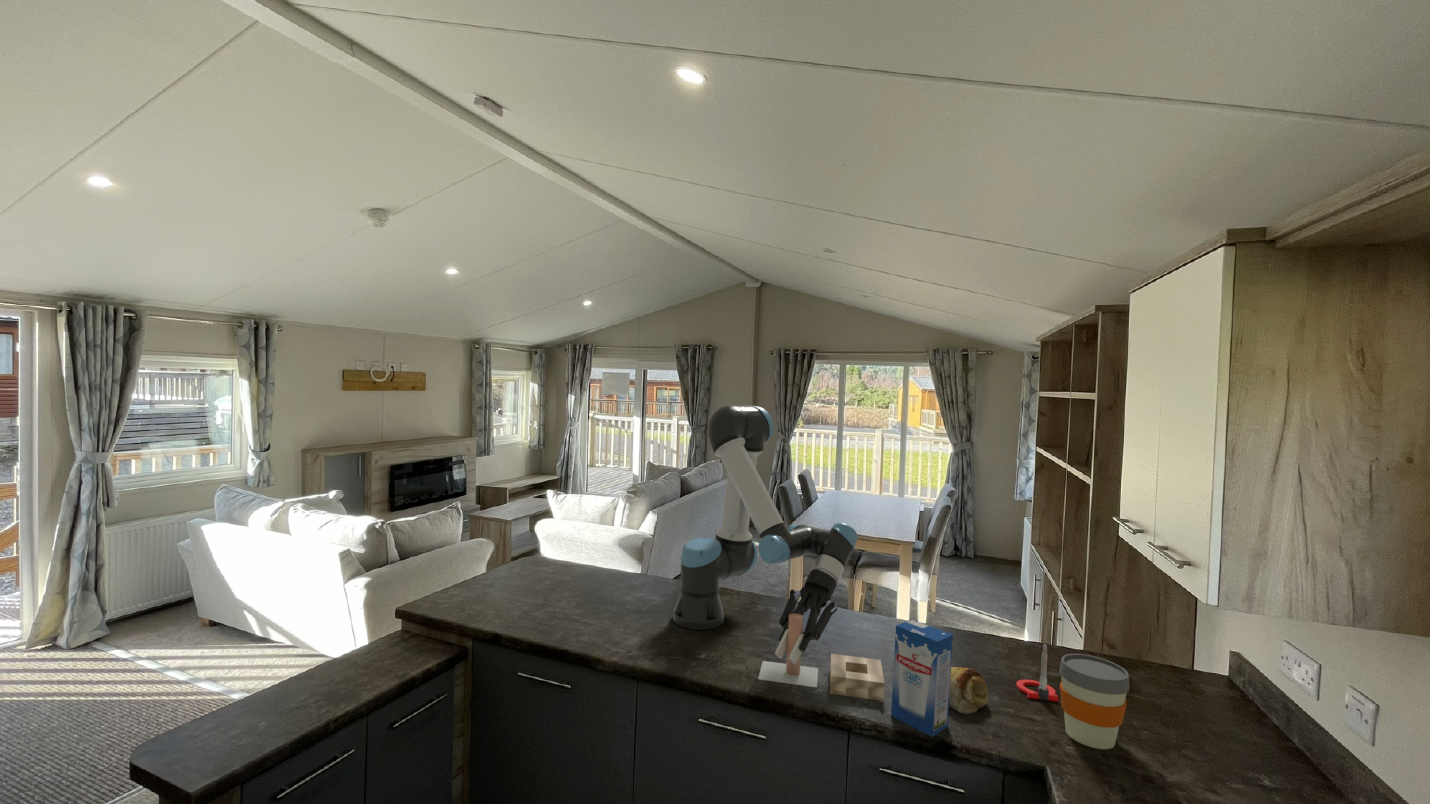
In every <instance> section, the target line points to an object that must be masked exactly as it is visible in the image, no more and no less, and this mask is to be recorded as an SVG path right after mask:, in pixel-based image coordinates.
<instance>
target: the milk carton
mask: <svg viewBox="0 0 1430 804" xmlns="http://www.w3.org/2000/svg"><path fill="white" fill-rule="evenodd" d="M953 639H954V634H952V633H950V632H947V631H944V630H942V629H939V628H937V627H933V626H930V625H927V624H926V623H923V622H920V621H917V620H915V619H909V620H907V621H904V622H902V623H899V624H896V625H895V638H894V654H893V655H894V657H893V672H892V673H893V675H892V690H891V691H892V692H891V695H892V696H891V707H890V708H891V711H890V712H891V713H890V716H891V717H892V718H895V719H896V720H898V721H900V722H902V723H904V724H906V725H907V726H910V727H912V728H914V729H916V730H917V731H920V732H922V733H923V734H925V735H927V736H929V737H931V738H933V737H935V736H936V735H937V734H939V733H942V732H943V731H944V730H945V729H947V728H949V715H950V712H949V711H950V709H949V708H950V707H949V696H950V679H951V667H952V660H953V659H952V658H953V657H952V656H953V643H954V642H953V641H954V640H953Z"/></svg>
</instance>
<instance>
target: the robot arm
mask: <svg viewBox="0 0 1430 804" xmlns="http://www.w3.org/2000/svg"><path fill="white" fill-rule="evenodd" d="M773 433H774V421H773V418H772V417H771V415H770V414H769V412H768V411H767V410H766V409H765V408H763V407H762V406H756V405H754V404H753V405H750V404H748V405H730V404H729V405H724V406H720V407H719V408H717V409H716V410H715V411H714V412H713V413H712V414H711V416H710V418H709V419H708V423H707V437H708V442H709V445H710V447H711V450H712V451H713V454H714V456H715V457H717V458H720V459H721V462H722V463H723V465H724V468H725V469H726V472H727V477H726V486H725V492H724V493H725V495H724V500H723V503H724V504H723V510H722V511H723V512H722V516H721V517H722V518H721V527H718V529H717V530H716V531H715V537H714V538H712V537H711V538H709V537H703V538H699V537H698V538H695V539H692V540H689V541H687V542H686V543H685V544H684V545H683V547H682V549H681V557H680V581H679V582H680V586H679V587H680V588H679V589H680V590H679V595H678V598H677V600H676V603H675V607H674V608H673V612H672V613H673V614H672V615H673V616H672V620H673V622H674V624H675V625H677V626H679V627H682V628H684V629H689V630H695V631H696V630H697V631H698V630H700V631H702V630H705V631H706V630H712V629H716V628H718V627H720V626H721V625H723V624H724V618H725V615H724V614H725V613H724V608H723V606H722V602H721V599H720V582H721V581H724V580H728V579H731V578H734V577H740V576H742V575H743V576H744V574H746V573H749V572H750V571H752V569H753V568H755V565H756V563H757V560H758V555H759V556H760V558H761V559H762V560H763V561H764V562H765V563H767V564H769V565H774V564H781V563H786V562H787V561H790V560H793V559H796V558H800V557H803V556H807V555H813V556H816V557H817V558H816V559H815V561H814V564H813V566H812V567H811V569H810V572H809V574H808V575H807V576H806V577H807V578H806V580H805V583H804V586H803V587H802V588H801V589H800V590H795V589H790V591H789V597H788V599H787V603H786V605H785V607H784V608H783V611H782V614H781V617H780V618H779V621H778V623H779V625H780V627H782V631H781V633H780V636H779V637H778V641H779V643H778V645H777V647H776V650H775V652H774V653H775V656H777V657H778V658H777V659H780V660H782V659H783V657H784V655H785V653H786V652H787V644H788V625H789V615H790V614H793V613H796V614H800V615H802V616H803V617H804V614H806V613H807V612H808V610H809V615H808V618H807V621H806V625H805V629H804V631H802V635H801V634H800V636H799V638H798V640H797V642H796V644H795V646H794V648H793V650H792V652H791V654H790V657H789V660H790V661H791V662H792V663H793V664H796V662H797V660H798V658H799V656H800V654H801V655H802V652H803V653H805V651H806V650H807V647H808V646H809V643H810V642H811V641H813V640H815V641H816V642H817V641H819V640H820V638H821V636H822V635H823V632H824V630H825V629H826V627H827V625H828V623H829V622H830V620H831V617H832V616H833V615H834V614H835V613H836V612H837V611H838V607H837V605H836V603H835V602H834V601H832V599H831V598H832V596H833V595H834V592H835V591H836V588H837V586H838V583H839V581H840V579H841V577H842V574H843V573H844V571H845V569H846V566H847V564H848V562H849V559H850V558H851V555H852V554H853V551H854V550H855V546H856V544H857V542H858V539H859V535H858V532H857V530H855V528H853V527H852V526H850V525H849V524H847V523H843V522H835V523H834V524H833V526H831V528H830V529H826V528H825V529H824V528H821V527H815V526H810V525H806V524H804V523H803V524H799V523H795V524H794V523H793V524H792V525H790V526H789V527H787V525H786V524H785V522H784V520H783V518H782V516H781V515H780V512H779V511H778V508H777V507H776V505H775V503H774V501H773V500H772V497H771V495H770V492H769V491H768V489H767V487H766V486H765V483H764V482H763V480H762V478H761V476H760V474H759V472H758V470H757V466H758V465H757V464H758V457H759V456H760V455H761V454H762V453H763V452H764V447H765V443H767V442H768V441H769V439H771V438H772V435H774V434H773ZM750 520H751V521H752V524H753V525H754V527H755V529H756V531H757V533H758V535H759V537H760V540H759V542H758V548H757V547H756V543H755V541H754V540H753V535H752V533H751V532H750V531H749V529H750V528H749V527H750ZM799 599H800V600H799ZM822 608H824V609H823V611H822ZM821 611H822V612H821Z"/></svg>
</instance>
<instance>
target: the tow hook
mask: <svg viewBox="0 0 1430 804" xmlns="http://www.w3.org/2000/svg"><path fill="white" fill-rule="evenodd" d="M1047 650H1048V645H1047V644H1045V643H1044V644H1043V645H1042V653H1041V658H1040V659H1041V660H1040V661H1041V663H1040V677H1039V681H1038V680H1033V679H1019V680H1017V681H1016V682H1015V683H1016V684H1015V685H1016V688H1017V689H1018V690H1019V691H1021V692H1022V693H1023V694H1026V698H1028V699H1034V700H1038V701H1045V702H1048V701H1050V702H1059V696H1058V694H1057V692H1056V690H1055V689H1054V687H1052V686H1050V685H1049V684H1048V677H1047V668H1048V653H1047V652H1048V651H1047ZM1026 686H1035V687H1036V691H1035V690H1031V689H1030V688H1027V687H1026Z"/></svg>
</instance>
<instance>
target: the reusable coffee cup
mask: <svg viewBox="0 0 1430 804" xmlns="http://www.w3.org/2000/svg"><path fill="white" fill-rule="evenodd" d="M1058 671H1059V674H1060V676H1061V677H1060V678H1061V681H1060V683H1059V690H1060V691H1059V692H1060V703H1061V704H1060V705H1061V708H1062V709H1063V714H1064V716H1063V717H1064V725H1065V726H1064V727H1065V732H1066V735H1068V737H1069V738H1071V739H1072V740H1074V741H1076V742H1077V743H1079V744H1081V745H1084V746H1085V747H1086V746H1087V747H1090V748H1094V749H1099V750H1109V749H1113V748H1114V747H1115V746H1116V741H1117V737H1118V733H1119V727H1120V726H1121V725H1123V722H1124V718H1125V712H1126V709H1127V705H1128V702H1127V699H1126V696H1127V693H1128V692H1130V676H1129V673H1128V671H1127V670H1126V668H1124V667H1122V666H1121V665H1119V664H1118V663H1117V664H1116V663H1115V662H1113V661H1111V660H1107V659H1105V658H1103V657H1098V656H1094V655H1090V654H1084V653H1083V654H1082V653H1067V654H1065V655H1063V656H1062V657H1061V660H1060V665H1059V670H1058Z"/></svg>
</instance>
